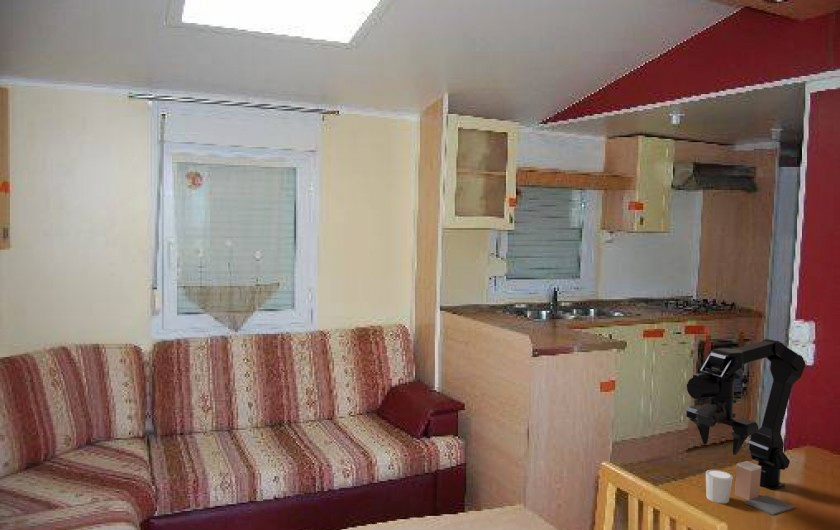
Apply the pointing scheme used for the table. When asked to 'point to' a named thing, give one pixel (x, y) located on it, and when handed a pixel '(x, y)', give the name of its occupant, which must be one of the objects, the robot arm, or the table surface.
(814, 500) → the table surface
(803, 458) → the table surface
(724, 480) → the white cup
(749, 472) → the block
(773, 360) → the robot arm
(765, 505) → the mat
